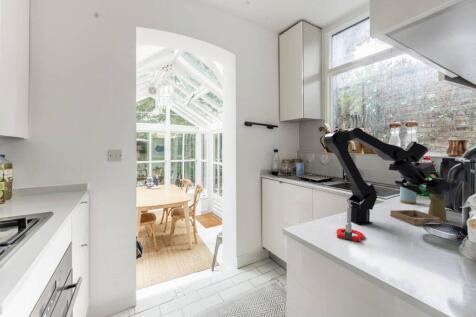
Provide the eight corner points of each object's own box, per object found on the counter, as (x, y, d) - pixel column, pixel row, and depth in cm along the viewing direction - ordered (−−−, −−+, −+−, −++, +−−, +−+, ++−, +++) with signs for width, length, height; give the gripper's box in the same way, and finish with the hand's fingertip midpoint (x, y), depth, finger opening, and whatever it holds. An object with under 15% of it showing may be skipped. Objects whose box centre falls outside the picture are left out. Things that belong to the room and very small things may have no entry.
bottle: (414, 202, 116) (415, 175, 115) (417, 204, 110) (418, 176, 109) (398, 200, 120) (399, 174, 119) (400, 203, 114) (401, 175, 113)
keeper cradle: (414, 225, 80) (414, 219, 80) (390, 216, 92) (390, 210, 92) (441, 224, 81) (442, 218, 81) (414, 215, 93) (414, 209, 93)
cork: (440, 222, 84) (441, 195, 83) (423, 217, 90) (424, 192, 89) (450, 221, 85) (451, 194, 85) (433, 216, 91) (434, 191, 91)
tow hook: (338, 229, 78) (333, 237, 70) (339, 195, 78) (335, 199, 70) (364, 235, 73) (362, 243, 65) (366, 198, 73) (364, 202, 65)
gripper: (445, 157, 76) (471, 186, 78) (401, 155, 95) (423, 179, 96) (424, 179, 76) (451, 207, 77) (384, 173, 95) (407, 196, 96)
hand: (431, 196), depth 87 cm, fingers open, 9 cm apart
